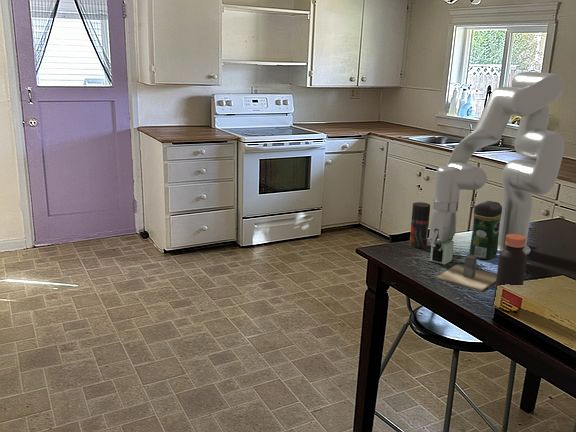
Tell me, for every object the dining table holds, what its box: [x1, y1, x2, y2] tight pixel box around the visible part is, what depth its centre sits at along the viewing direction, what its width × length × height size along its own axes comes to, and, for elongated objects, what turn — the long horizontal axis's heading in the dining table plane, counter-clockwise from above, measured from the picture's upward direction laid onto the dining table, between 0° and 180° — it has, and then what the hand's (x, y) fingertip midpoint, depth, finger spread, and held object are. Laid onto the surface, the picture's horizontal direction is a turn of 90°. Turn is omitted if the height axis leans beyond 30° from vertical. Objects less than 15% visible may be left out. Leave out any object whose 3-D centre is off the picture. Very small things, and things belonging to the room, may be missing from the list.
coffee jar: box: [468, 200, 502, 260], centre depth 186 cm, size 10×8×19 cm
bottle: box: [492, 234, 528, 306], centre depth 148 cm, size 7×7×20 cm
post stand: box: [436, 254, 497, 292], centre depth 168 cm, size 14×14×7 cm
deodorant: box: [409, 201, 431, 249], centre depth 195 cm, size 6×6×15 cm
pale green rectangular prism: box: [429, 239, 455, 265], centre depth 182 cm, size 5×5×7 cm
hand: (441, 258), depth 183 cm, fingers closed on pale green rectangular prism, 5 cm apart
